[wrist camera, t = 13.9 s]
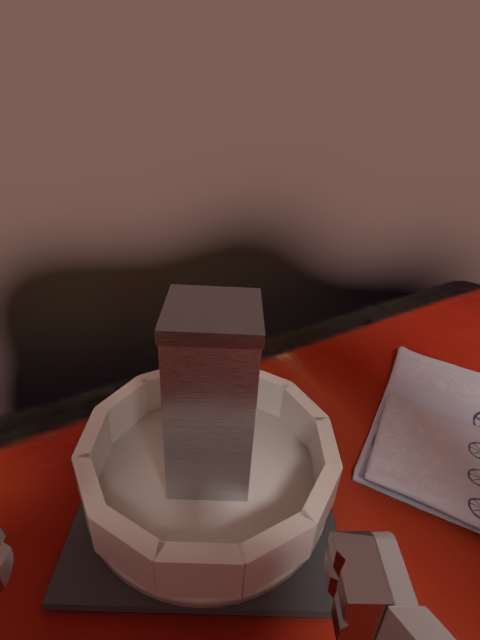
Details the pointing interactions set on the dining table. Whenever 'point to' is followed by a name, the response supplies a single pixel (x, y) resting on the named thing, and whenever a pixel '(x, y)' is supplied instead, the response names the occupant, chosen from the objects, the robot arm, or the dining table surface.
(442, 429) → the printed paper sheets
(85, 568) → the mat
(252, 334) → the tin
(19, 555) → the dining table surface
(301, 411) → the bowl
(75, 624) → the dining table surface
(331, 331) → the dining table surface
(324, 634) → the dining table surface
